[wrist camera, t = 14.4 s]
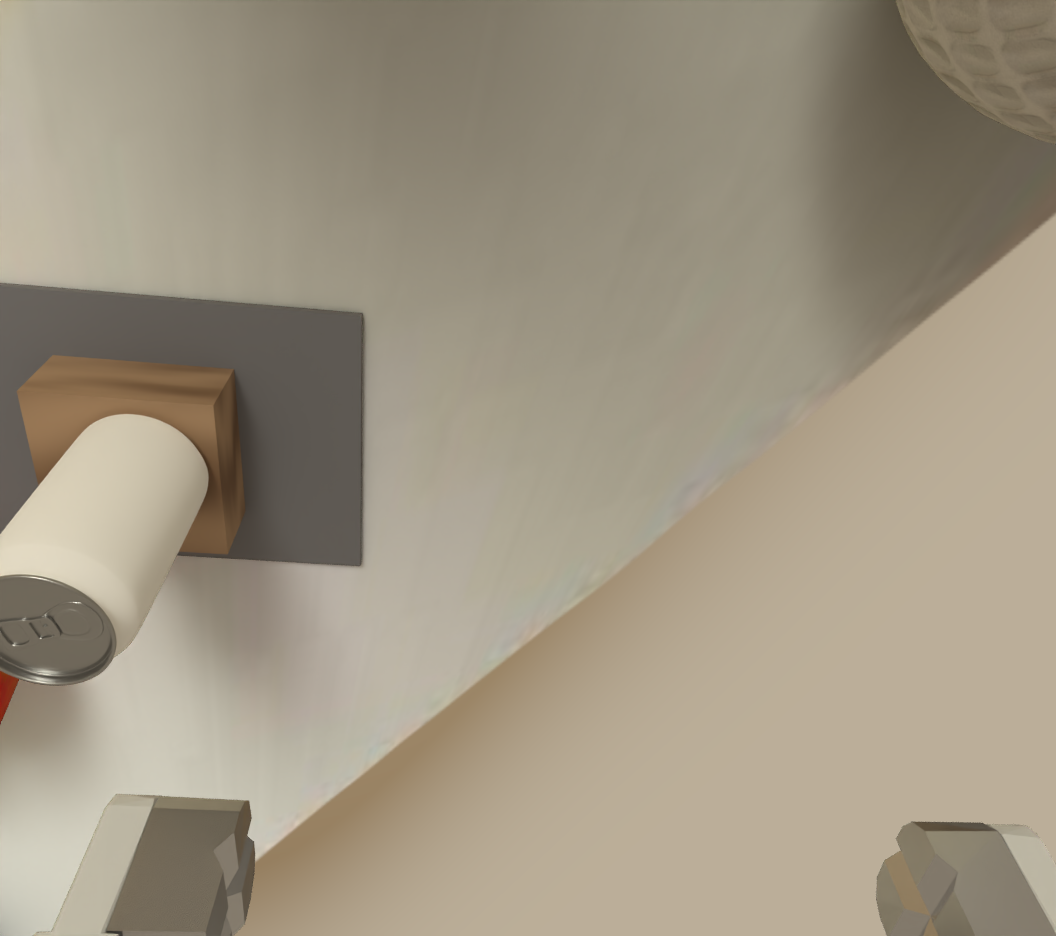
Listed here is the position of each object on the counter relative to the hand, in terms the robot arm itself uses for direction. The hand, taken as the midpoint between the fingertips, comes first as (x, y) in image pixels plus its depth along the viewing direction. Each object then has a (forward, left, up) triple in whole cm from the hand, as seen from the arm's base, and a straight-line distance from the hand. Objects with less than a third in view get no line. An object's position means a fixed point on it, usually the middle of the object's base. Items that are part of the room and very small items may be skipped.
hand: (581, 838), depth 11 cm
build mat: (+16, -18, -35) cm, 43 cm away
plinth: (+16, -18, -35) cm, 42 cm away
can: (+15, -17, -31) cm, 38 cm away
